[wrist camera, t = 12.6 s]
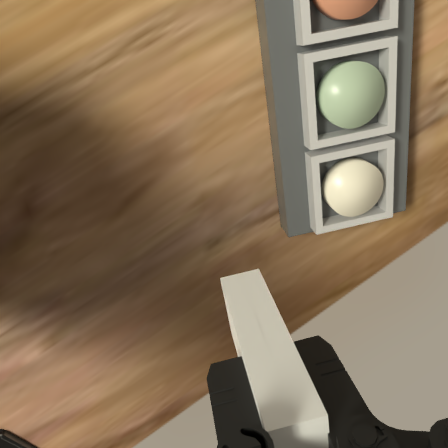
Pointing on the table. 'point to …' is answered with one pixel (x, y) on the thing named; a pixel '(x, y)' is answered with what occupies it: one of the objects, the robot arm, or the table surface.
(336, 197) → the cream button
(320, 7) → the terracotta button
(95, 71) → the table surface
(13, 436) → the phone
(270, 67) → the button panel
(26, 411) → the table surface
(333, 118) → the sage button
